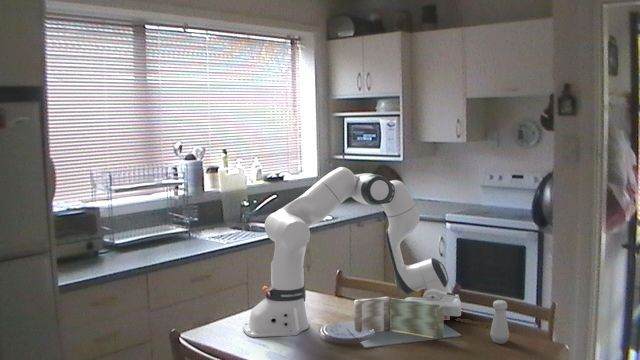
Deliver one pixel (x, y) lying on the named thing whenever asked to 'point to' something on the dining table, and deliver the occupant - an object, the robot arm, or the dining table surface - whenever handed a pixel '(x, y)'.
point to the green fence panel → (417, 317)
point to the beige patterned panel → (372, 314)
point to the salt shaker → (499, 323)
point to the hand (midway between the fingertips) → (427, 313)
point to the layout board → (403, 337)
